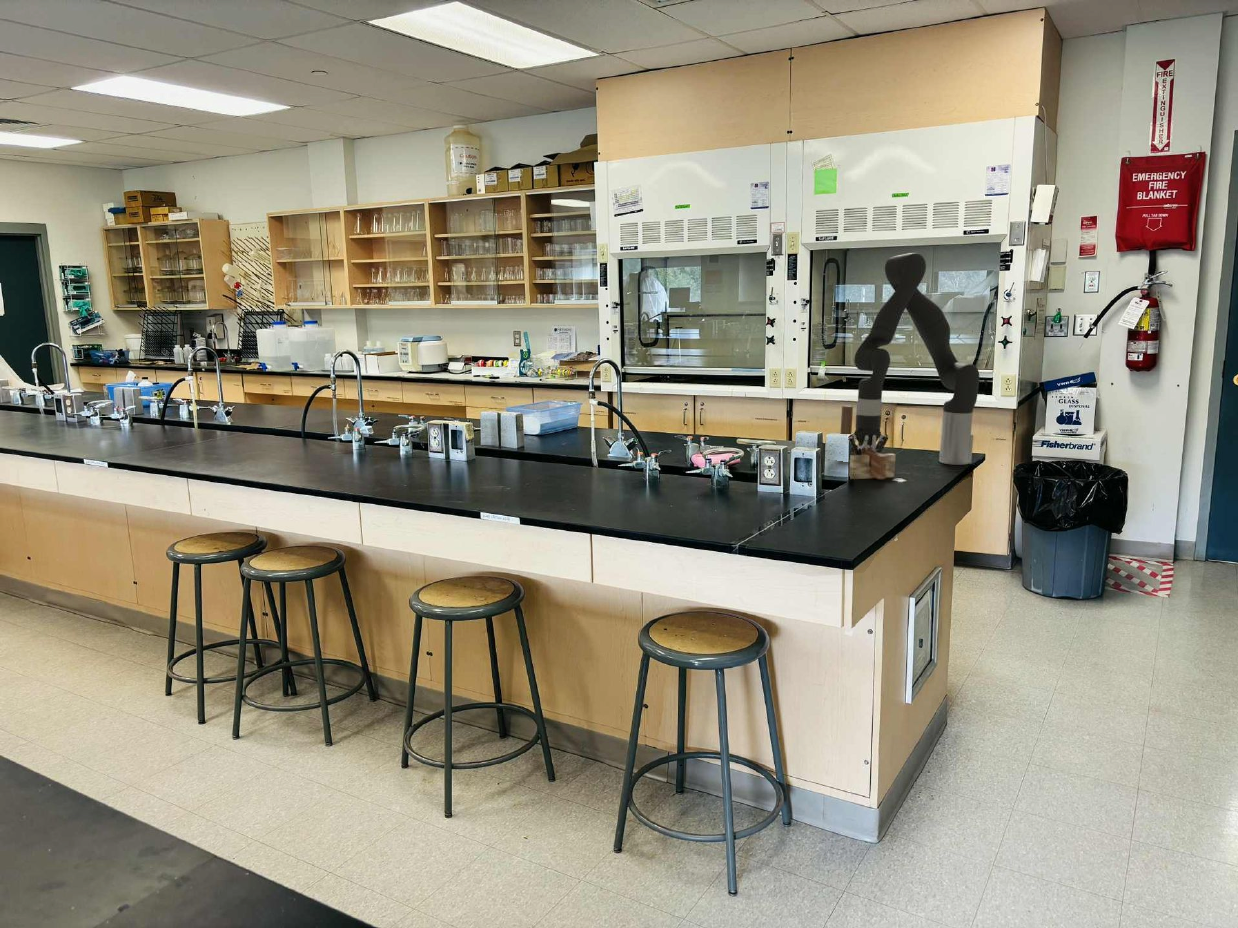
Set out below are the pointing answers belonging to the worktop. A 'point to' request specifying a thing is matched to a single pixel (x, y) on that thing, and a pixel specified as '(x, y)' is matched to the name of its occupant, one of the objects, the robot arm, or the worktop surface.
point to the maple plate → (862, 468)
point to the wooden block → (846, 420)
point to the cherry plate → (877, 463)
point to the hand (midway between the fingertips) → (865, 467)
